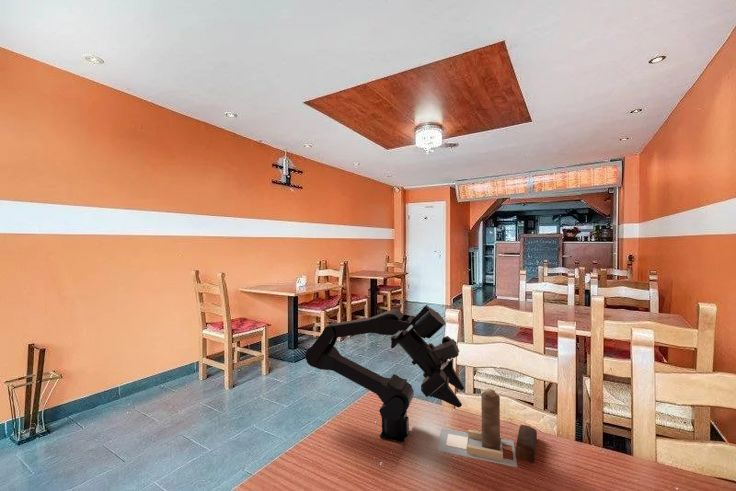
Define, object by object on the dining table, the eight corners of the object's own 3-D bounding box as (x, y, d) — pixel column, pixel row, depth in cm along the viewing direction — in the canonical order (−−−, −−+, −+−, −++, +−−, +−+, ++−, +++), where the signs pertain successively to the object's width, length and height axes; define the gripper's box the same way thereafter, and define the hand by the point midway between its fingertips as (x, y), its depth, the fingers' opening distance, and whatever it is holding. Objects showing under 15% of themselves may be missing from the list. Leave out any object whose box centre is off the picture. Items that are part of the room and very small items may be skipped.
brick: (534, 469, 73) (534, 449, 73) (515, 463, 75) (515, 443, 75) (537, 444, 83) (537, 425, 83) (520, 439, 85) (520, 421, 85)
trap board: (436, 455, 78) (436, 443, 78) (441, 432, 88) (441, 422, 88) (517, 472, 72) (517, 460, 72) (513, 445, 82) (513, 434, 82)
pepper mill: (481, 452, 78) (481, 393, 77) (481, 441, 82) (481, 386, 81) (500, 455, 76) (500, 396, 76) (499, 445, 80) (499, 388, 80)
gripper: (434, 340, 74) (485, 395, 70) (444, 321, 91) (485, 364, 88) (401, 370, 77) (449, 424, 73) (417, 345, 94) (456, 388, 91)
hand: (461, 397), depth 81 cm, fingers open, 9 cm apart
